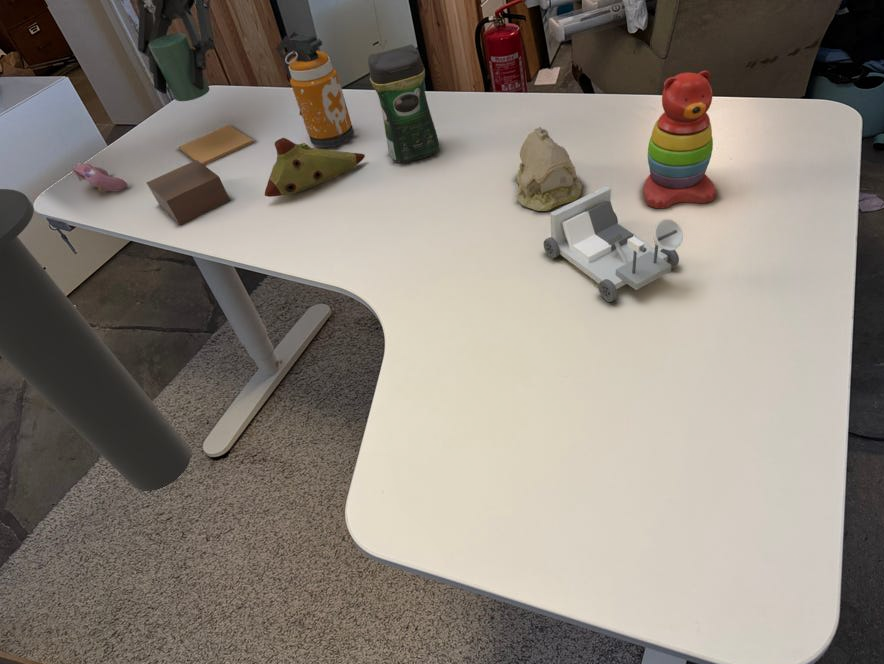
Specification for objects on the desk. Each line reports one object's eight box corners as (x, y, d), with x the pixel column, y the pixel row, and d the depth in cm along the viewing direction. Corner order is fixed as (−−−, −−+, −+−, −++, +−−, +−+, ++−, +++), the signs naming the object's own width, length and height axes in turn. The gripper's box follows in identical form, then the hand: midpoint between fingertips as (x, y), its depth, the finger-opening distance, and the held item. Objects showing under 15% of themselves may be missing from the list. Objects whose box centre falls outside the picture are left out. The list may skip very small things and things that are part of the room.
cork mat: (179, 149, 129) (177, 146, 129) (229, 127, 134) (228, 124, 134) (201, 166, 123) (200, 163, 122) (253, 142, 127) (252, 139, 127)
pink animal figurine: (95, 190, 124) (62, 170, 118) (108, 172, 125) (75, 151, 119) (117, 203, 119) (83, 182, 113) (130, 184, 120) (97, 162, 114)
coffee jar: (433, 137, 119) (414, 36, 105) (444, 154, 113) (425, 50, 100) (385, 150, 117) (360, 49, 104) (394, 168, 112) (369, 65, 99)
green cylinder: (169, 96, 121) (142, 43, 114) (201, 83, 124) (177, 30, 116) (182, 104, 117) (156, 50, 110) (215, 91, 120) (191, 37, 112)
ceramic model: (593, 200, 97) (594, 142, 90) (526, 217, 96) (522, 159, 89) (563, 160, 107) (562, 104, 99) (502, 175, 106) (496, 120, 98)
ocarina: (360, 157, 117) (346, 106, 109) (373, 167, 113) (359, 115, 106) (264, 199, 110) (241, 148, 103) (274, 210, 107) (252, 159, 100)
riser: (159, 206, 113) (146, 182, 110) (208, 183, 117) (196, 159, 114) (180, 225, 108) (166, 200, 104) (230, 200, 111) (218, 176, 108)
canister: (334, 153, 119) (300, 46, 105) (295, 144, 124) (257, 41, 110) (363, 132, 124) (334, 27, 110) (324, 124, 129) (291, 23, 114)
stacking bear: (648, 210, 93) (658, 95, 80) (634, 176, 100) (642, 66, 87) (719, 202, 92) (741, 84, 80) (701, 168, 99) (718, 56, 87)
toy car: (702, 217, 74) (630, 255, 71) (692, 279, 81) (626, 316, 78) (606, 163, 85) (540, 194, 82) (604, 222, 93) (543, 252, 89)
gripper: (230, -28, 118) (238, 91, 119) (137, -15, 120) (144, 101, 121) (208, -53, 110) (216, 74, 111) (109, -39, 113) (117, 85, 114)
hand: (179, 88), depth 116 cm, fingers closed on green cylinder, 7 cm apart
